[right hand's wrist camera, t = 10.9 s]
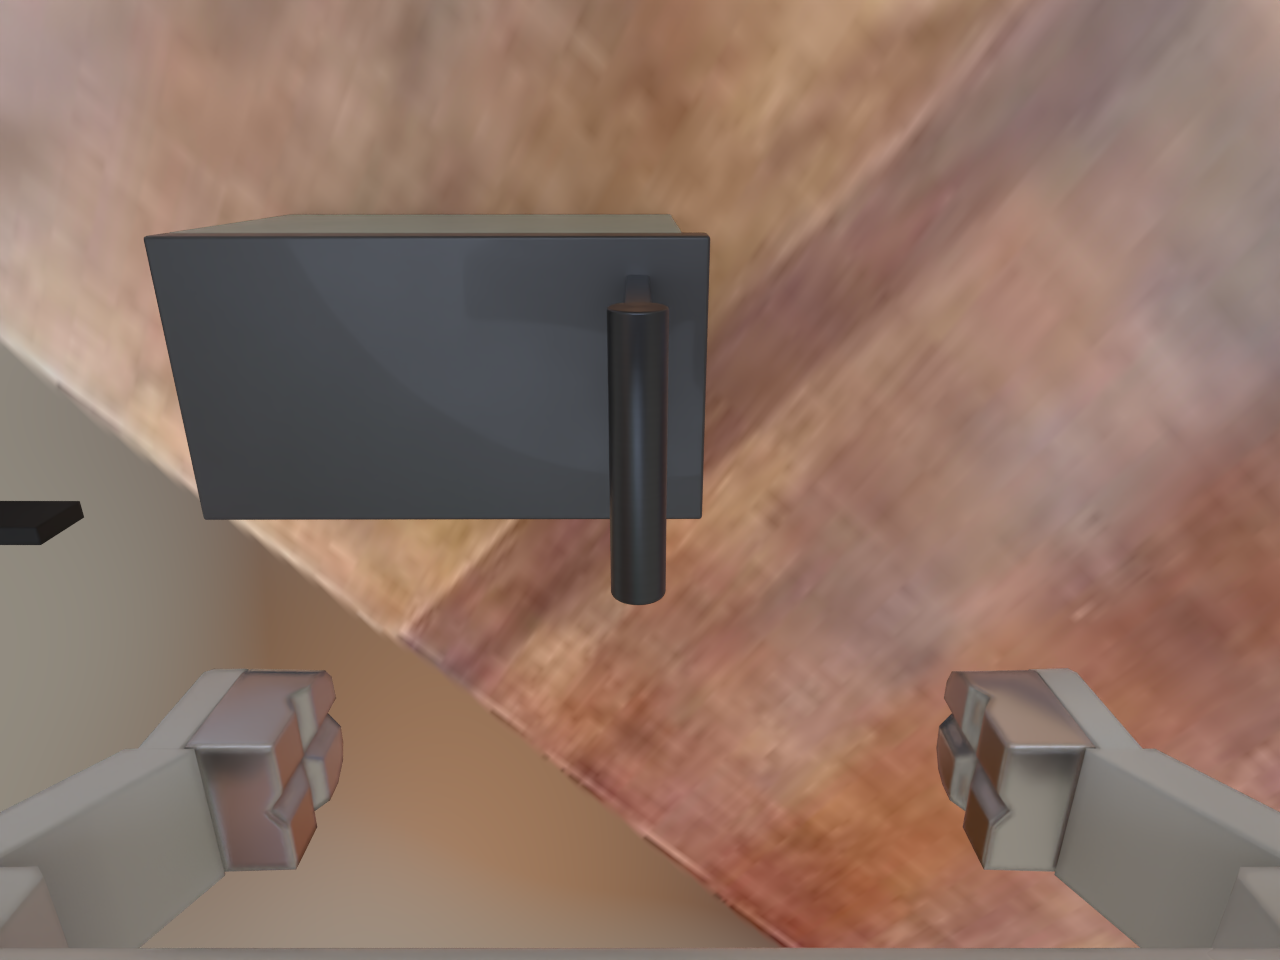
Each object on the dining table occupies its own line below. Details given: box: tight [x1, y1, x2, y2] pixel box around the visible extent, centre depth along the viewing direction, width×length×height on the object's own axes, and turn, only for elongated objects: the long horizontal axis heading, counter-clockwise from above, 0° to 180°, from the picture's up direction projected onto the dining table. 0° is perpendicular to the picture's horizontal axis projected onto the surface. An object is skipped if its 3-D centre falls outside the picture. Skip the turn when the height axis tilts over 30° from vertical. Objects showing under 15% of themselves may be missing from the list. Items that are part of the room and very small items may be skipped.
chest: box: [170, 214, 682, 233], centre depth 32 cm, size 16×9×10 cm, turn 90°
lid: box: [144, 233, 710, 605], centre depth 23 cm, size 17×9×9 cm, turn 90°
